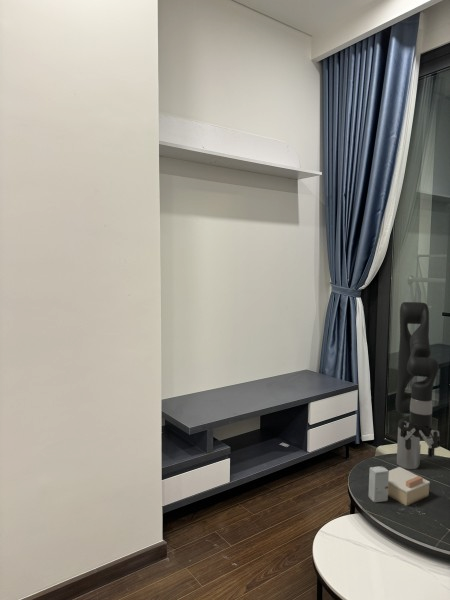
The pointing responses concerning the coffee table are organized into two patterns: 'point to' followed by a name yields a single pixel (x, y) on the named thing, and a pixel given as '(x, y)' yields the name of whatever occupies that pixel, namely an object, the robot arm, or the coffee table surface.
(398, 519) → the coffee table surface
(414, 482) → the lid
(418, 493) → the box
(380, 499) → the skincare box
